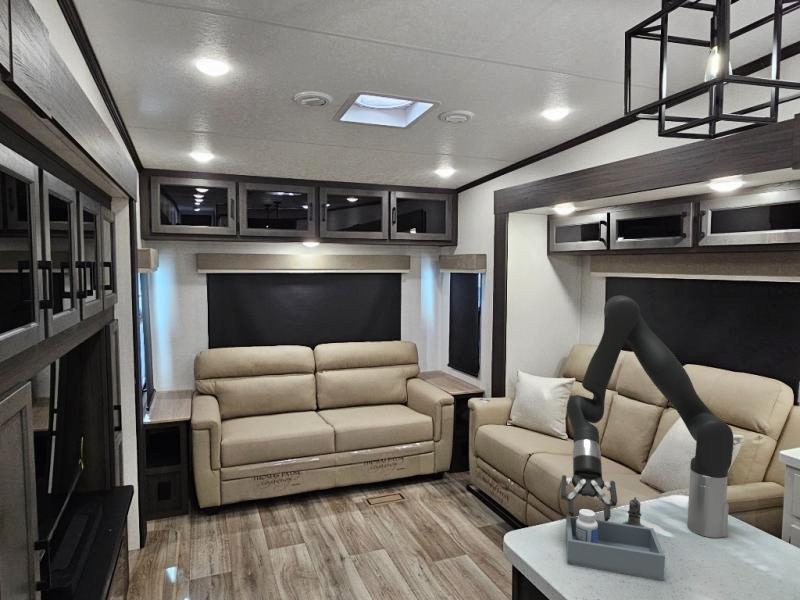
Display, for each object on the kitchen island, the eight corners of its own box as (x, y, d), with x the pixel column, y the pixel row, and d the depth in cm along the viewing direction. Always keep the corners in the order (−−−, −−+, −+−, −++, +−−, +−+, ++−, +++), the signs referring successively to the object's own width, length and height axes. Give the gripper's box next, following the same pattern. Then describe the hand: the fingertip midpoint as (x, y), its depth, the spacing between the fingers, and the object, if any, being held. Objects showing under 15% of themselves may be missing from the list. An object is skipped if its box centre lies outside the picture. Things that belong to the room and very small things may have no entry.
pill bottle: (593, 543, 136) (595, 508, 135) (599, 554, 130) (601, 517, 130) (572, 542, 136) (574, 506, 136) (577, 553, 131) (579, 516, 130)
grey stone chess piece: (643, 536, 142) (645, 494, 142) (646, 546, 137) (648, 503, 136) (620, 532, 144) (622, 491, 144) (622, 542, 139) (624, 499, 138)
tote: (652, 550, 135) (653, 528, 135) (663, 580, 122) (665, 556, 121) (565, 536, 141) (566, 515, 141) (567, 563, 128) (568, 540, 127)
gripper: (561, 451, 143) (561, 508, 133) (615, 456, 139) (620, 516, 129) (560, 462, 148) (560, 519, 138) (612, 468, 144) (616, 527, 134)
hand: (589, 517), depth 133 cm, fingers open, 8 cm apart
